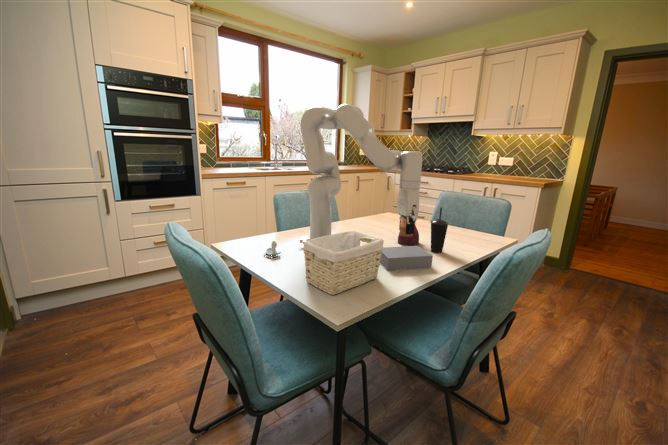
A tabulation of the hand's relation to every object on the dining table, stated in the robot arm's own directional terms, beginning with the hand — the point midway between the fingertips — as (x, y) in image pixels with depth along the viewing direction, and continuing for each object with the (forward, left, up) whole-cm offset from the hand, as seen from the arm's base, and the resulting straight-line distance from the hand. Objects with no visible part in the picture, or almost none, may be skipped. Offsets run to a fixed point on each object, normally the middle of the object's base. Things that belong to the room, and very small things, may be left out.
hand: (406, 231), depth 119 cm
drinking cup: (+21, +11, -13) cm, 27 cm away
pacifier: (-51, +17, -14) cm, 56 cm away
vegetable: (+14, +25, -14) cm, 32 cm away
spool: (0, 0, -1) cm, 1 cm away
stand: (0, 0, -13) cm, 13 cm away
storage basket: (-28, -11, -14) cm, 33 cm away
